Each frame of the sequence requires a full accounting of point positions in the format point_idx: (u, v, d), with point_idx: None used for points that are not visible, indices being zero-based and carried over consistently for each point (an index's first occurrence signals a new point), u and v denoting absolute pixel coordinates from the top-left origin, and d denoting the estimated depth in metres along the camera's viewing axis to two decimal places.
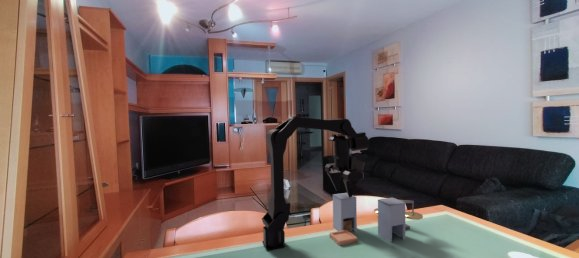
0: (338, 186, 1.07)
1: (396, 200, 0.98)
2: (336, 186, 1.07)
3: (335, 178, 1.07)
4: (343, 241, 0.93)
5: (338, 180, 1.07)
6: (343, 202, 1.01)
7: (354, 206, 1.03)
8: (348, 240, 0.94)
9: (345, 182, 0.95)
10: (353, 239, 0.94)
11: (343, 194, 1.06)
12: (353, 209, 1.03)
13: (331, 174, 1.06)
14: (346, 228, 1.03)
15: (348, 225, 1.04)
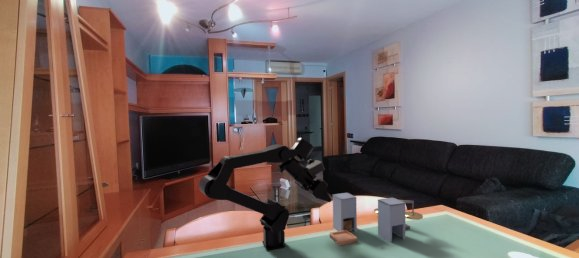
0: None
1: (396, 200, 0.98)
2: None
3: (310, 186, 1.06)
4: (343, 241, 0.93)
5: None
6: (343, 202, 1.01)
7: (354, 206, 1.03)
8: (348, 240, 0.94)
9: None
10: (353, 239, 0.94)
11: (343, 194, 1.06)
12: (353, 209, 1.03)
13: (304, 187, 1.05)
14: (346, 228, 1.03)
15: (348, 225, 1.04)
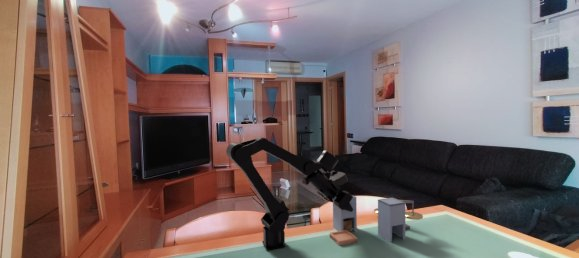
0: None
1: (396, 200, 0.98)
2: None
3: None
4: (343, 241, 0.93)
5: None
6: None
7: (354, 206, 1.03)
8: (348, 240, 0.94)
9: None
10: (353, 239, 0.94)
11: None
12: (353, 209, 1.03)
13: (328, 198, 1.07)
14: (346, 228, 1.03)
15: (348, 225, 1.04)
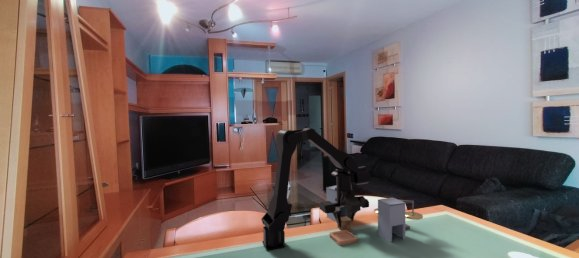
0: None
1: (396, 200, 0.98)
2: None
3: (349, 212, 1.06)
4: (343, 241, 0.93)
5: (350, 216, 1.05)
6: None
7: None
8: (348, 240, 0.94)
9: None
10: (353, 239, 0.94)
11: (335, 186, 1.18)
12: None
13: None
14: (346, 228, 1.03)
15: (348, 225, 1.04)
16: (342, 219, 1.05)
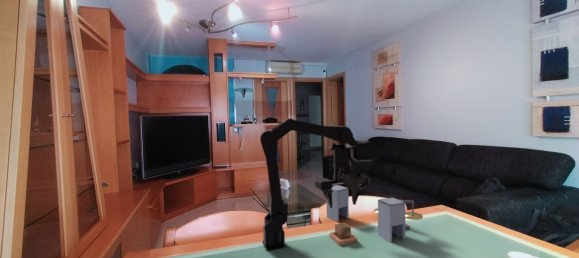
0: (354, 199, 0.97)
1: (396, 200, 0.98)
2: (352, 199, 0.98)
3: (354, 190, 0.98)
4: (343, 241, 0.93)
5: (355, 194, 0.97)
6: (338, 193, 1.12)
7: (346, 196, 1.15)
8: (348, 240, 0.94)
9: None
10: (353, 239, 0.94)
11: (335, 186, 1.18)
12: (346, 199, 1.15)
13: None
14: (344, 236, 0.95)
15: (347, 232, 0.95)
16: (340, 226, 0.96)
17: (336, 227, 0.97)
